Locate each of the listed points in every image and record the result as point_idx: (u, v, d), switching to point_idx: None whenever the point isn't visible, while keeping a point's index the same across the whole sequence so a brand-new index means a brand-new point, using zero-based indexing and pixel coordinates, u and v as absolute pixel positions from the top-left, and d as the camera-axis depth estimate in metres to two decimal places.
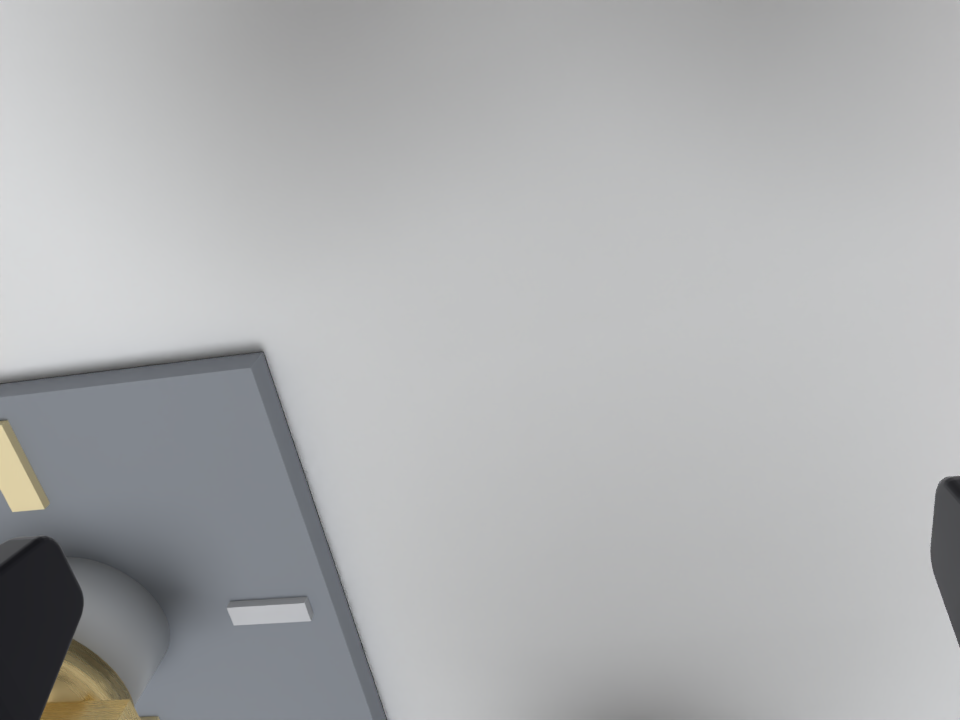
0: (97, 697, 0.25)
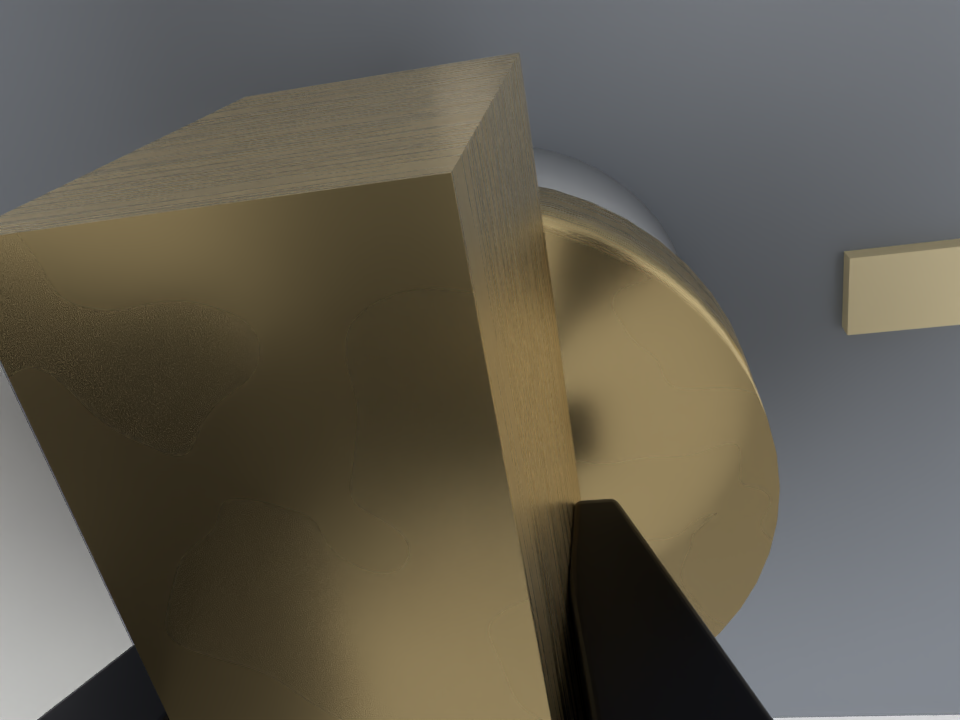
0: None
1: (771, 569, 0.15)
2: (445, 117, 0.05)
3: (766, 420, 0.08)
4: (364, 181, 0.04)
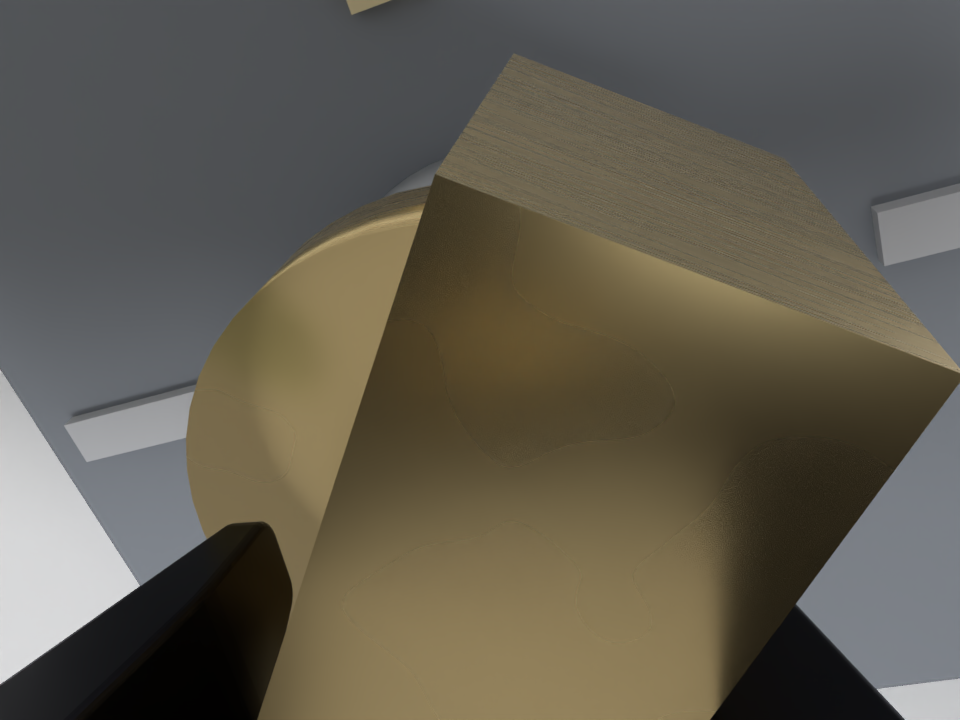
0: None
1: None
2: (836, 251, 0.05)
3: None
4: (877, 336, 0.04)
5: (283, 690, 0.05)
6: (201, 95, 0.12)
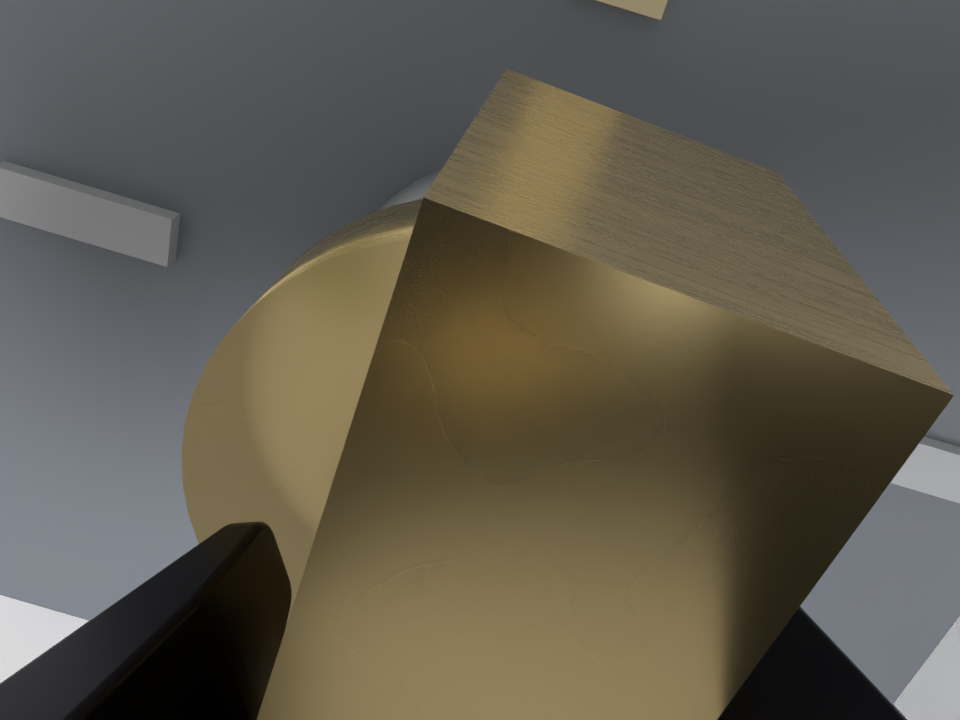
0: None
1: (166, 441, 0.15)
2: (826, 268, 0.05)
3: None
4: (867, 355, 0.04)
5: (277, 708, 0.05)
6: None
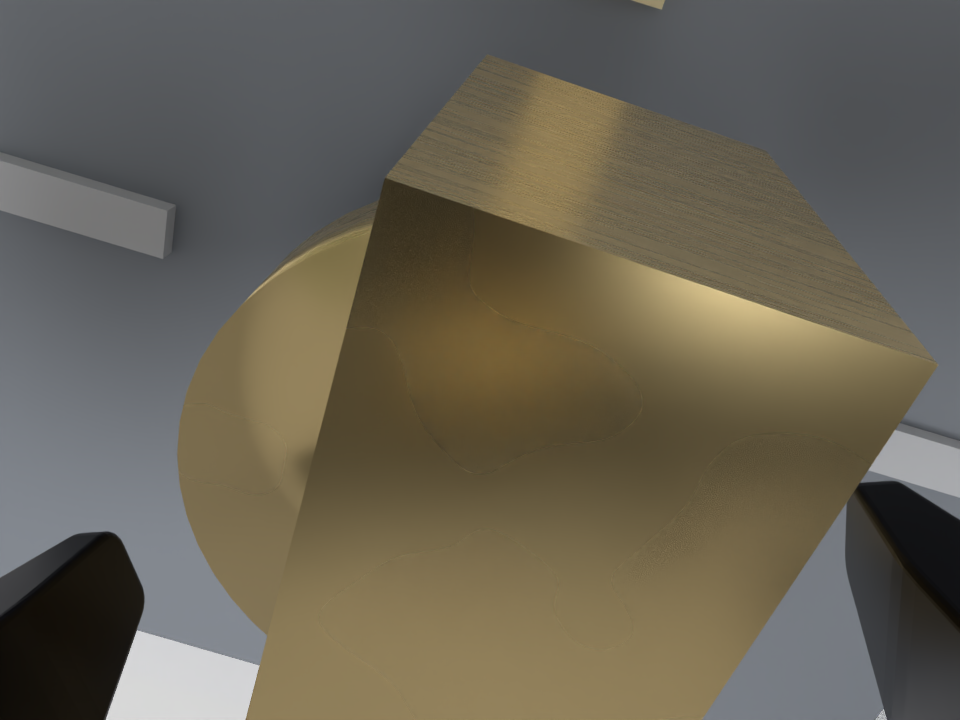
0: None
1: (162, 434, 0.15)
2: (811, 242, 0.05)
3: None
4: (848, 328, 0.03)
5: (266, 706, 0.05)
6: None
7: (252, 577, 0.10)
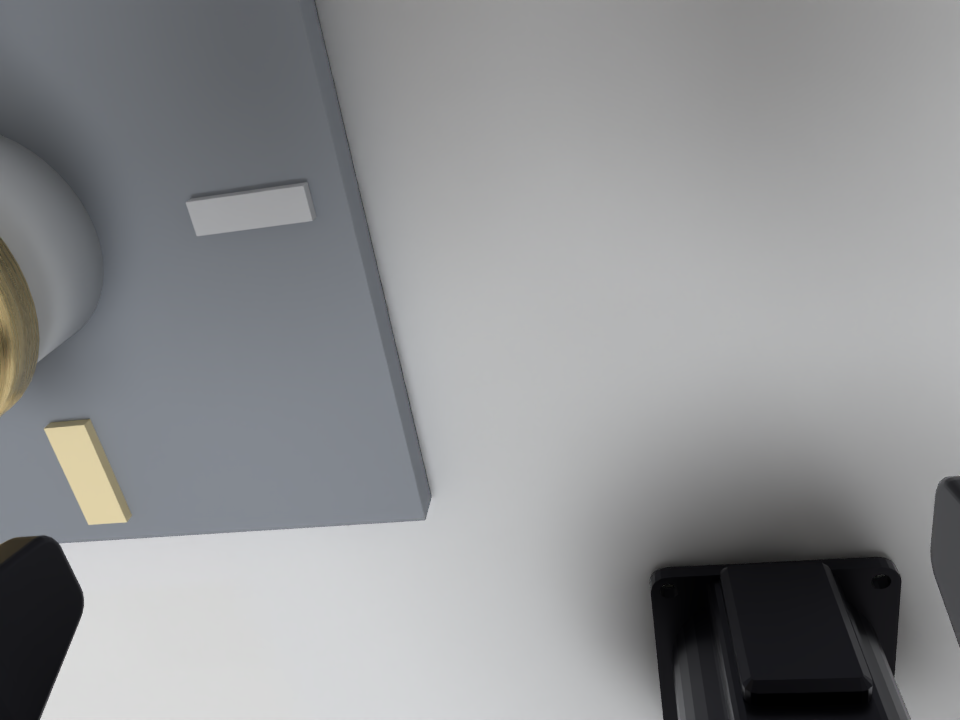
0: None
1: None
2: None
3: None
4: None
5: None
6: None
7: None
